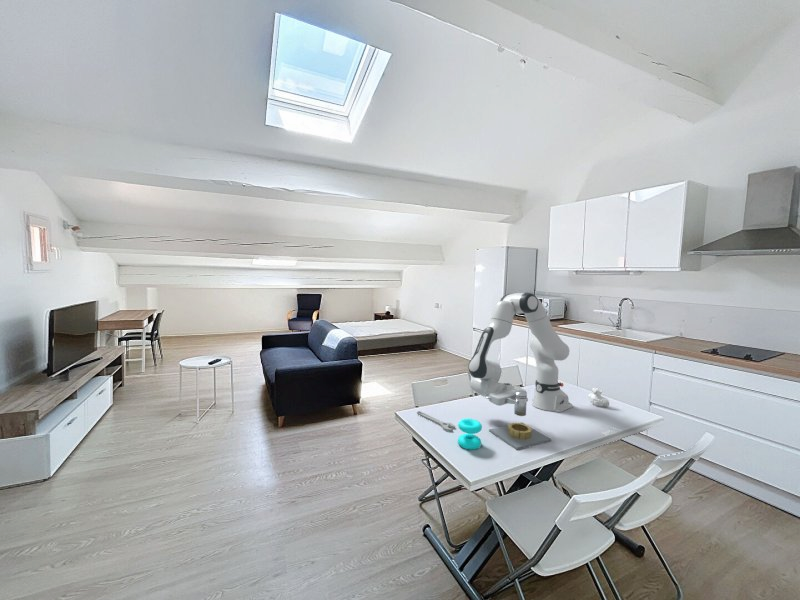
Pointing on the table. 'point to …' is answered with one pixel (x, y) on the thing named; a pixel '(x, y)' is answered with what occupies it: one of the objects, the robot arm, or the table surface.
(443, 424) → the adjustable wrench
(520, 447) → the plate
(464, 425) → the donuts
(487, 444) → the table surface
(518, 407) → the cylinder
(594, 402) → the duck figurine
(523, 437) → the brass ring
